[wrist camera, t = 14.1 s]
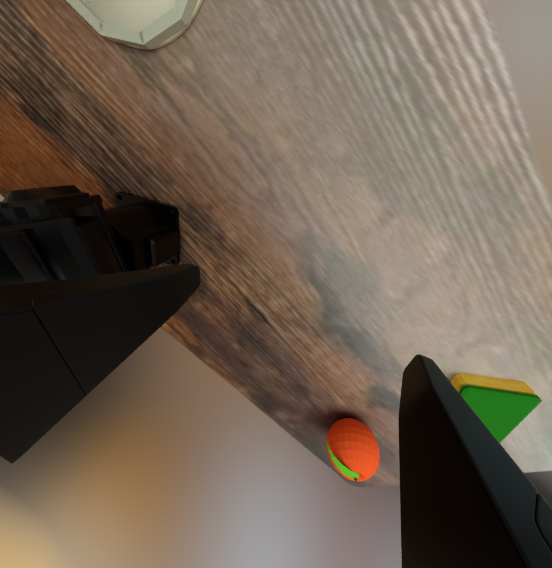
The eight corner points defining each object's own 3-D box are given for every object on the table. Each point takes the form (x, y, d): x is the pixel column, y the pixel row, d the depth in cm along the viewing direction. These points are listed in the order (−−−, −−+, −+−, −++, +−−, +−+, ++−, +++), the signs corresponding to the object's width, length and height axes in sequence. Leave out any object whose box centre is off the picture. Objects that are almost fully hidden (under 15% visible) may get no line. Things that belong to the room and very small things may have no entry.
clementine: (311, 416, 34) (309, 471, 28) (341, 397, 30) (346, 456, 24) (351, 439, 35) (357, 497, 29) (384, 423, 31) (399, 486, 25)
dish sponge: (525, 379, 24) (544, 400, 22) (470, 442, 31) (480, 463, 29) (454, 369, 25) (466, 388, 23) (415, 432, 32) (422, 451, 30)
